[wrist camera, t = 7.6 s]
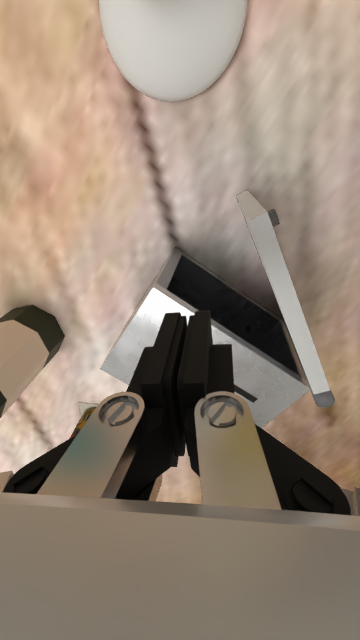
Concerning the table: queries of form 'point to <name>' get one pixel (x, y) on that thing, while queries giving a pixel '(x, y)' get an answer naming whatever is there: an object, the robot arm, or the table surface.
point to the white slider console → (217, 335)
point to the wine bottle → (25, 349)
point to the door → (285, 294)
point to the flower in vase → (172, 43)
